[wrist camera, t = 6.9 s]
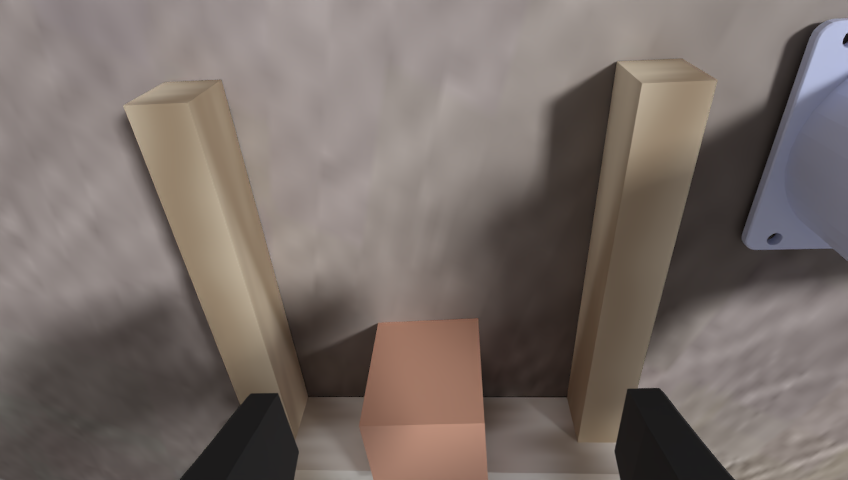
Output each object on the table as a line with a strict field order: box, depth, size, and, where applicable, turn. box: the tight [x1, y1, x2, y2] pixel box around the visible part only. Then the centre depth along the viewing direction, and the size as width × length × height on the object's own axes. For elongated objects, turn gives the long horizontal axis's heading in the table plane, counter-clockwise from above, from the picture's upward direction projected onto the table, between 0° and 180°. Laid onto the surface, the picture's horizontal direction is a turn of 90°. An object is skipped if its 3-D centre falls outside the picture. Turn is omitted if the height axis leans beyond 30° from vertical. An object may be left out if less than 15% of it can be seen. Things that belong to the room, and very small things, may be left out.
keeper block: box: [359, 318, 488, 480], centre depth 21 cm, size 4×4×6 cm
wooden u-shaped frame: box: [123, 59, 718, 480], centre depth 20 cm, size 17×18×4 cm
